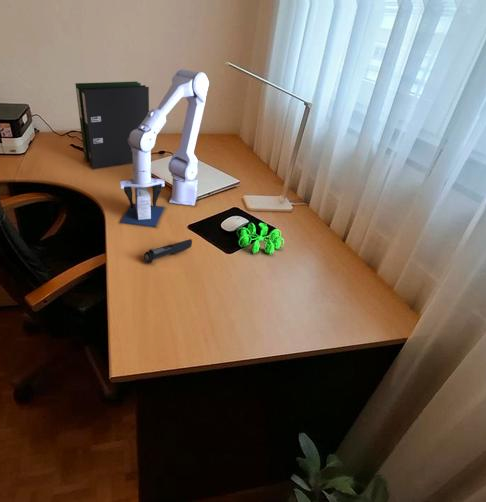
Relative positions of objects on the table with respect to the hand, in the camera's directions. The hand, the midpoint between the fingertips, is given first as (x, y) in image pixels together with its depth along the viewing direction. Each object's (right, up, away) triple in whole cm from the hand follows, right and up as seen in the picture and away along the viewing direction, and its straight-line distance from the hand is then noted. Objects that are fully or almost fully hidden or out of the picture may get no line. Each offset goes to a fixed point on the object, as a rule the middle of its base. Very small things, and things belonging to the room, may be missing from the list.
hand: (143, 206), depth 119 cm
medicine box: (0, -3, +2) cm, 3 cm away
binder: (-17, +27, +44) cm, 54 cm away
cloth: (0, -3, +2) cm, 3 cm away
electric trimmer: (+9, -16, -16) cm, 25 cm away
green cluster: (+38, -13, -9) cm, 41 cm away
